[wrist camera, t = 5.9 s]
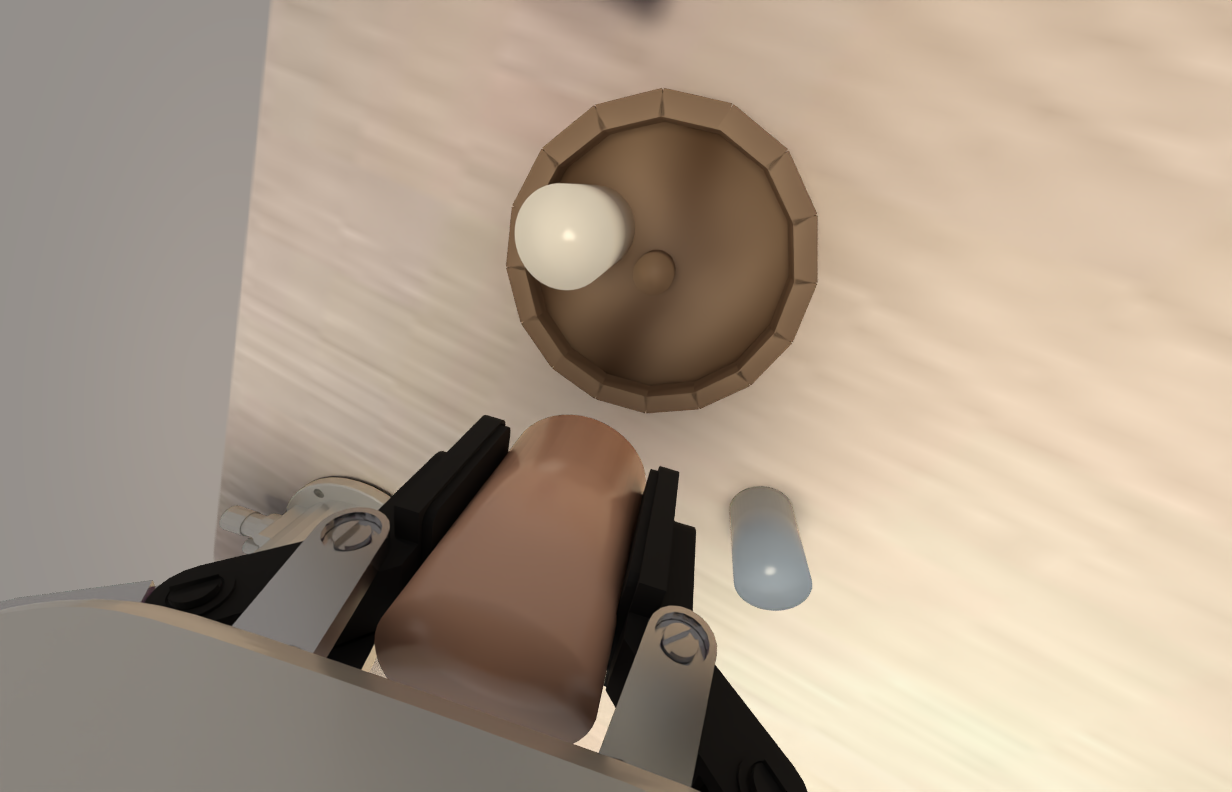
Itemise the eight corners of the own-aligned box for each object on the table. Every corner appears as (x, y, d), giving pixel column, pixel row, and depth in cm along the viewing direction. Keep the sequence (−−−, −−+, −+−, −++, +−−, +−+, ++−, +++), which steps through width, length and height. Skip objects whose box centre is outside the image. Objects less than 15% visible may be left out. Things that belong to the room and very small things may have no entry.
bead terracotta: (519, 397, 12) (369, 562, 7) (661, 438, 12) (621, 645, 6) (505, 508, 14) (377, 707, 9) (628, 546, 14) (575, 777, 8)
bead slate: (721, 525, 30) (724, 597, 25) (740, 479, 28) (748, 545, 23) (779, 542, 30) (794, 619, 25) (802, 497, 28) (824, 568, 23)
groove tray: (512, 357, 28) (495, 370, 26) (545, 70, 21) (526, 57, 19) (747, 422, 27) (750, 442, 25) (860, 142, 20) (878, 136, 18)
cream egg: (554, 257, 24) (509, 276, 19) (565, 176, 22) (520, 172, 17) (625, 275, 24) (601, 301, 18) (643, 195, 22) (622, 197, 17)
